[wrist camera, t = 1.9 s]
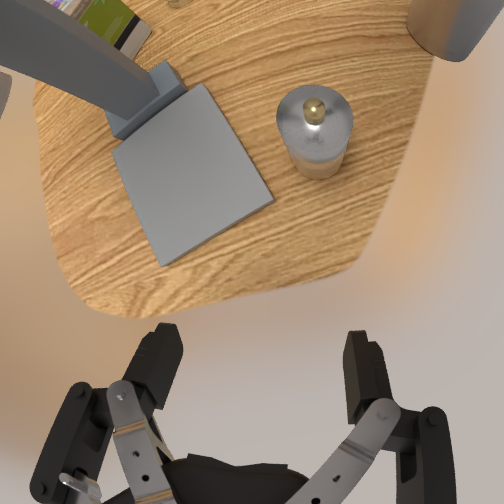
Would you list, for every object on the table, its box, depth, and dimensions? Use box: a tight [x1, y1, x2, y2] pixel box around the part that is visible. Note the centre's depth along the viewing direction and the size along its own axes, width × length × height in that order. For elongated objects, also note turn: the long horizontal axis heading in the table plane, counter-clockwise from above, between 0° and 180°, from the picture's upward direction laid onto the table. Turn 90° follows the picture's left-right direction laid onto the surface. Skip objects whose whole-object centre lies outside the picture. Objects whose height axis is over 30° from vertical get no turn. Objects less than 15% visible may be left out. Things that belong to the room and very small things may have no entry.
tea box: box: [46, 0, 152, 61], centre depth 25 cm, size 15×10×15 cm, turn 64°
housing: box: [276, 85, 353, 180], centre depth 21 cm, size 5×5×12 cm
